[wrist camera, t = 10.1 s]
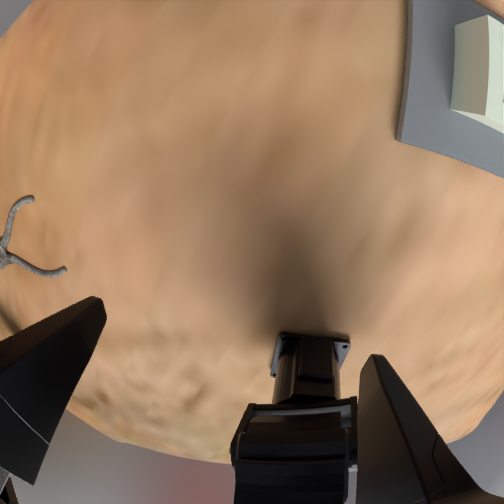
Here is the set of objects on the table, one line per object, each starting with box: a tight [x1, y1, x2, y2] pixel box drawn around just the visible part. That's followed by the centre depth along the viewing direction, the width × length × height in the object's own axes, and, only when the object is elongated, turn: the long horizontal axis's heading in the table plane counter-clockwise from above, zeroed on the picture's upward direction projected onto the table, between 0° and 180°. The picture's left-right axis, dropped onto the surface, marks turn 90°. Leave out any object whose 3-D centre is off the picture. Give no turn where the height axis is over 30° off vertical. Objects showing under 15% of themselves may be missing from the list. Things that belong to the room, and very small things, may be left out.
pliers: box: [0, 196, 67, 277], centre depth 26 cm, size 10×1×20 cm
